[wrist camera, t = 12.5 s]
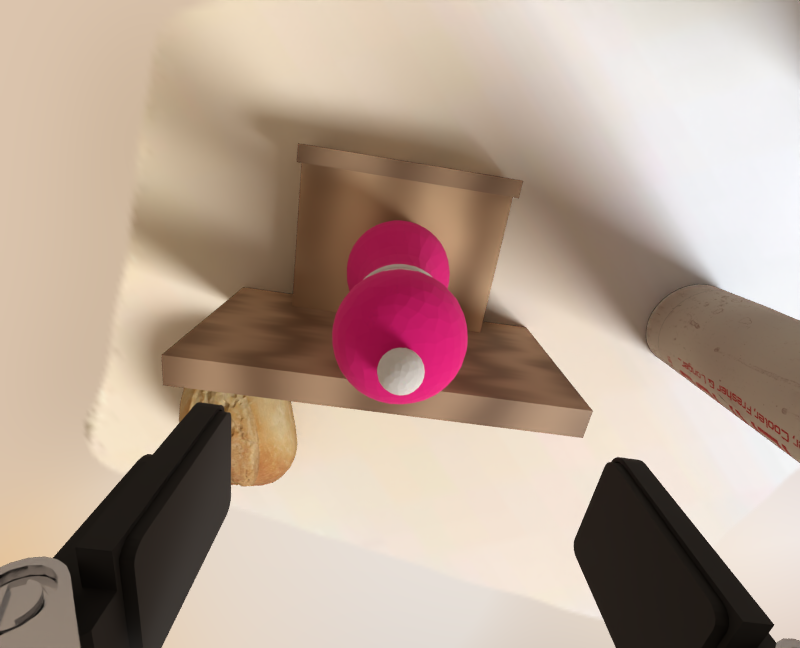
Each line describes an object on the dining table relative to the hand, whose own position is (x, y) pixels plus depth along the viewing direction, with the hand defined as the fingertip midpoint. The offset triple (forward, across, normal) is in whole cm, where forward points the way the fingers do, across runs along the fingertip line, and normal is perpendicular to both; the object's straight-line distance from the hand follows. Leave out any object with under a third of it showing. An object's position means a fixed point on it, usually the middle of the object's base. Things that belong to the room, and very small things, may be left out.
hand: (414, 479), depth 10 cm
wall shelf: (+28, +1, 0) cm, 28 cm away
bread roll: (+28, +12, +17) cm, 35 cm away
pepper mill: (+25, +1, 0) cm, 25 cm away
